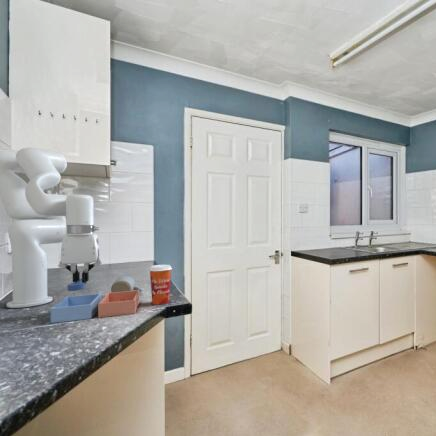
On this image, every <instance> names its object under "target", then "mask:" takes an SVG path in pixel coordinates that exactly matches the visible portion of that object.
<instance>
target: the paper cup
mask: <svg viewBox="0 0 436 436" xmlns="http://www.w3.org/2000/svg"><path fill="white" fill-rule="evenodd" d="M172 269H173V268H172V266H171V265H170V264H155V265H151V266H150V268H149V269H148V272H149V277H150V287H151V288H150V291H151V303H152V305H158V306H159V305H165V304H168V303H170V292H171V277H172Z"/></svg>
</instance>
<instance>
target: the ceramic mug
mask: <svg viewBox="0 0 436 436" xmlns="http://www.w3.org/2000/svg"><path fill="white" fill-rule="evenodd" d="M134 290H140V296H141V295H142V294H143V290H142V289H141V288H140V287H138V286H136V281H135V280H134V278H133V277H131V276H128V275H121V276H119V277H117V278H116V279H115V280H114V282H113V283H112V285H111V287H110V293H112V292H123V291H134Z"/></svg>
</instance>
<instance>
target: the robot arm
mask: <svg viewBox="0 0 436 436" xmlns="http://www.w3.org/2000/svg"><path fill="white" fill-rule="evenodd" d="M67 167H68V162H67V159H66V157H65V156H64V155H63V154H62V153H61V152H58V151H55V150H48V149H42V148H36V147H23V148H20V149H19V150H15V149H9V148H8V149H7V148H0V198H1V201H2V203H3V207H4V209H5V211H6V214H7V216H8V217H9V218H11V219H12V220H16V221H14V222H12V223H11V224H10V225H9V226H8V229H7V234H8V239H9V242H10V247H11V263H12V264H11V268H12V269H11V270H12V272H11V273H12V274H11V277H12V279H11V280H12V300H11V301H8V302H7V303H6V308H8V309H21V308H29V307H30V308H31V307H36V306H41V305H42V306H43V305H45V304H48V303H51V302H53V301H54V298H53V296H48V255H47V252H46V251H45V250H44V249H43V248H42V247H41V246H40V245H48V244H61V247H60V260H59V262H58V268H61V269H66V270H68V271H69V272H70V273H71V274H72V283H76V282H77V281H78V280H80V279H81V278H82V282H84V283H85V285H86V284H87V282H89V281H90V277H89V276H90V274H89V272H90V271H91V270H92V269H93V268H95V267H97V266H100V265H102V260H101V258H100V255H101V254H100V243H99V238H98V234H97V233H95V232H99V231H100V227H99V226H95V224H94V223H95V222H94V221H95V219H94V218H95V217H94V215H95V214H94V212H95V211H94V208H95V207H94V206H95V205H94V204H95V203H94V197H93V196H91V195H89V194H58V193H45V192H44V191H46V190H49V189H52V188H54V187H56V186H57V185H59V183H60V182H61V180H62V176H61V174H62V173H64V172H65V171H66V170H67ZM17 173H18V174H25V175H26V177H27V178H28V179H29V181H28V182H26V180H24V179H23V178H22V177H20V176H19V175H17ZM80 264H82V265H83V270H82V273H80V272H79V269H78V265H80ZM80 274H81V275H80ZM80 277H81V278H80Z"/></svg>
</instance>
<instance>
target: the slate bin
mask: <svg viewBox="0 0 436 436" xmlns="http://www.w3.org/2000/svg"><path fill="white" fill-rule="evenodd" d="M102 299H103V294H102V293H101V292H100V293H92V294H80V295H78V294H77V295H69V296H65V297H64V298H63V299H61V300H60V301H58V302H57V303H56V304H55V305H54V306H52V307H51V308H50V324H55V323H64V322H65V323H66V322H73V321H74V322H75V321H81V320H88V319H89V320H90V319H92V318H94V317H95V315H96V314H97V313H98V304H99V303H100V301H101V300H102Z"/></svg>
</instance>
